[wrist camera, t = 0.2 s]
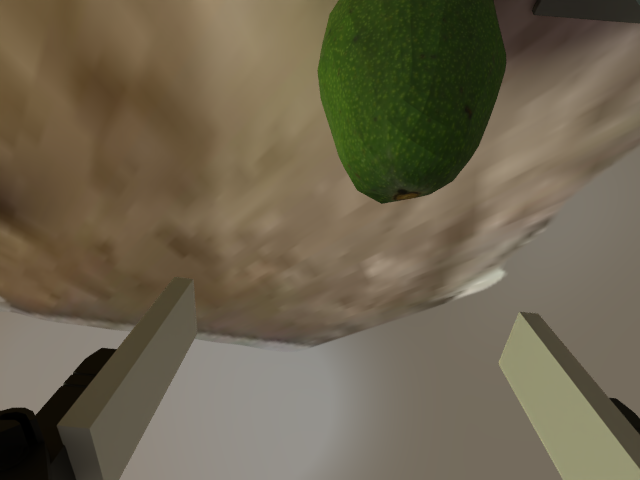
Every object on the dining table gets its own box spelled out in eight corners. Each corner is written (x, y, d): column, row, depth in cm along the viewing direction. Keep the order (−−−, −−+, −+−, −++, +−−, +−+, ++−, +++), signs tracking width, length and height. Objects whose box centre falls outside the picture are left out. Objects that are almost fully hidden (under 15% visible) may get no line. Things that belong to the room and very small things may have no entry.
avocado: (302, 38, 20) (271, 207, 14) (384, -135, 14) (396, 27, 8) (413, 99, 23) (430, 263, 17) (522, -23, 17) (611, 161, 11)
